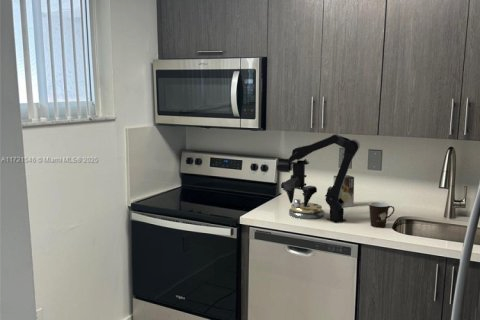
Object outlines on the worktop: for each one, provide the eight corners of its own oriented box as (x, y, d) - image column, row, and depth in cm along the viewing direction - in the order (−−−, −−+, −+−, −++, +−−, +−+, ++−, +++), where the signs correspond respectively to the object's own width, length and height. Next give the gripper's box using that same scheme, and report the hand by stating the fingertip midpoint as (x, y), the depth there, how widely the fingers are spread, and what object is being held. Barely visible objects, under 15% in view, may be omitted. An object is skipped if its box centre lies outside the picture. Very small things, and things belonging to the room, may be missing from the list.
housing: (330, 216, 213) (330, 212, 213) (301, 220, 206) (301, 216, 206) (311, 208, 229) (311, 204, 228) (282, 212, 222) (282, 208, 221)
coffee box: (348, 203, 239) (349, 174, 237) (353, 206, 233) (354, 176, 231) (332, 204, 237) (333, 175, 235) (337, 207, 231) (338, 177, 229)
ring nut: (307, 204, 227) (307, 193, 227) (328, 211, 215) (328, 199, 214) (284, 209, 219) (285, 197, 218) (305, 215, 207) (305, 203, 206)
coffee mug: (369, 228, 195) (370, 206, 193) (367, 222, 203) (368, 201, 202) (396, 229, 193) (397, 207, 191) (393, 224, 201) (394, 202, 200)
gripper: (273, 172, 213) (272, 203, 215) (301, 177, 198) (301, 211, 201) (289, 169, 220) (288, 200, 222) (318, 174, 205) (317, 207, 208)
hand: (298, 204), depth 213 cm, fingers open, 9 cm apart
